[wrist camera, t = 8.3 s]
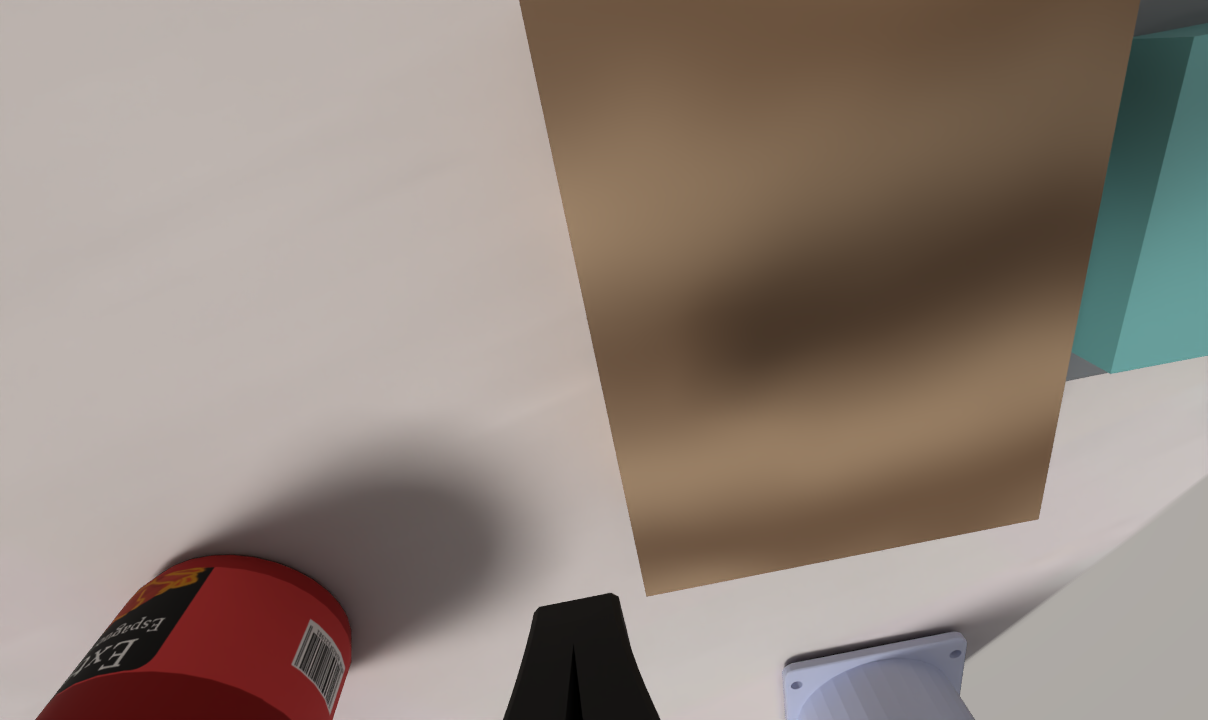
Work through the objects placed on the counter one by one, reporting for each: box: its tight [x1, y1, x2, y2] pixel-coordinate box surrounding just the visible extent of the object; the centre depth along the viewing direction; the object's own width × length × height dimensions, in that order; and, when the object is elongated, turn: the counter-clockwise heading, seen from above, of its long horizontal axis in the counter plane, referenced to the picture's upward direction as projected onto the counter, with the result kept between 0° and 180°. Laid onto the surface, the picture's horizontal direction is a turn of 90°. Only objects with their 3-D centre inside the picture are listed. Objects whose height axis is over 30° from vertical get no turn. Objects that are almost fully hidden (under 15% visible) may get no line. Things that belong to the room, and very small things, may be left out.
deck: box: [519, 0, 1140, 596], centre depth 16 cm, size 16×12×4 cm
